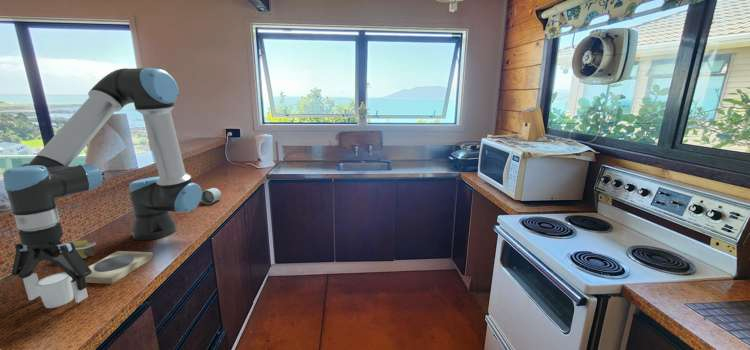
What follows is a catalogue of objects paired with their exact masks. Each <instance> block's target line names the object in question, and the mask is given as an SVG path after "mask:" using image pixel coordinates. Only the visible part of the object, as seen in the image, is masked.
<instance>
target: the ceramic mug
mask: <svg viewBox="0 0 750 350" xmlns="http://www.w3.org/2000/svg"><path fill="white" fill-rule="evenodd" d="M221 197H222V192H221V190H220V189H218V188H216V187H211V188H209V189H208V188H207V189H205V190H203V191H202V197H201V200H200V202H199V203H203V204H205V205H211V204H213V203H215V202H217V201H219V200H220V198H221Z"/></svg>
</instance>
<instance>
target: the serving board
mask: <svg viewBox="0 0 750 350" xmlns="http://www.w3.org/2000/svg"><path fill="white" fill-rule="evenodd" d="M153 258H154V254H153V252H151V251H150V252H149V251H125V250H124V251H123V250H116V251H115V252H112V253H111V254H109V255H107V256H106V257H104V258H102V259H100V260H98V261H96V262H94V263H93V264H91V265H88V267H89V268H90V270H91V271H92V273H91V274H90V275H88V276H86V277H85V279H86V284H87V283H89V284H91V283H92V284H110V285H112V284H115V283H117V281H120V280H121V279H122V278H124V277H126V276H127V275H129V274H130V273H132V272H133V271H135V270H137V269H138V268H140V267H142V266H143V265H145V264H146V263H147V262H149V261H150V260H152V259H153ZM76 275H77V274H76ZM72 280H73V279H72Z"/></svg>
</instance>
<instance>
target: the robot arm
mask: <svg viewBox="0 0 750 350" xmlns="http://www.w3.org/2000/svg"><path fill="white" fill-rule="evenodd" d="M179 91H180V90H179V86H178V84H177V82H176V80H175V79H174V77H173V76H172V75H171V74H169V73H168V72H167V71H166V70H164V69H160V68H153V67H145V68H144V67H143V68H140V67H139V68H128V67H127V68H126V67H125V68H119V69H116V70H114V71H112V72H111V71H110V72H109V73H108V74H106V75H105V76H104V77H102V78H101V79H100V80H99V81H97V83H96V84H95V85H94V86H92V88H90V90H89V91H88V93H87V95H88V98H87V99H86V101H84V102H83V104H82V105H81V106H79V108H78V109H77V110H76V111H75V112H74V113H73V115H71V116H70V118H68V120H67V121H66V122H65V124H64V125H63V126H62V127H61V128H60V129H59V130H58V131H57V132H56V133H55V134H54V135H53V136H52V138H51V139H50V140H49V141H48V142H47V143H46V144H45V145H44V146H43V147H42V149H41V150H40V151H39V152H38V153H37V154H36V155H35V156H34V157H33V159H32V160H30V162H28V163H24V164H20V165H17V166H15V167H12V168H11V167H10V168H7V169H6V170H4V171H3V172H2V174H3V175H2V176H3V177H2V178H3V184H4V190H5V191H6V194H7V198H8V201H9V204H10V207H11V211H12V214H13V216H14V221H15V224H16V228H17V229H18V230H19V231H18V235H19V240H20V242H19V243H16V244H15V245H14V247H15V256H14V260H13V263H12V268H11V275H12V276H14V277H15V276H18V277H19V279H21V280H22V284H23V287H24V288H25V292H26V295H27V299H28V301H33V300H36V299H37V298H39V297H40V294H39V292H38V290H37V288H36V286H35V284H36V282H38V281H39V280H40V279H39V277H38V274H37V273H36V271H35V270H36V268H37V267H38V265H39V263H40V262H41V261H47V262H51V263H52V264H55V265H57V266H58V267H59V268H60V269H61V270H62V271H63V272H64V273H65V272H66V273H67V274H68V275H69V276H70V277H71V278H72V279H73V280H71V285H72V289H73V294H74V301H75V303H77V304H79V303H80V302H82V301H84V300H85V299H87V298H88V297H89V295H88V291H87V286H88V284H87V283H86V279H85V277H86V276H88V275H90V274H91V273H92V271H91V270H90V268H89V265H88V264H87V263H86V262H85V260H84V258H82V257H81V256H80V255H79V253H78V252H77V251H76V249H75V246H74V243H73V241H72V242H70V243H68V242H67V244H65V243H62V241H61V238H62V237H63V235H64V232H63V227H62V224H61V223H60V220H61V219H60V215H59V211H58V207H57V204H56V199H60V198H65V197H68V196H72V195H77V194H81V193H85V192H89V191H92V190H95V189H97V188H99V187H101V186H102V184H103V181H104V177H103V174H102V172H101V171H102V170H101V169H99V167H97V166H96V165H94V164H91V163H90V164H89V163H87V164H78V165H75V166H71V165H72V164H73V163H74V162H75V160H76V159H78V156H79V155H80V154H81V153H82V152H83V151H84V150H85V148H86V147H87V146H88V145H89V143H90V142H91V141H92V139H93V138H95V136H96V135H97V134H98V132H99V131H100V130H101V129H102V128H103V126H105V124H106V122H107V121H108V120H109V119H110V118H111V117H112V115H114V113H115V112H120V111H122V109H123V108H124V107H125V106H127V105H129V104H133V105H134V109H135V111H137V112H139V113H140V114H141V115H142V119H143V123H144V125H145V129H146V132H147V135H148V139H149V143H150V147H151V151H152V154H153V155H152V156H153V157H154V161H155V164H156V165H155V166H156V168H157V172H158V175H159V176H152V177H151V176H150V177H146V178H140V179H137V180H134V181H132V182H130V184H129V185H128V187H129V196H130V201H131V206H132V210H133V215H134V216H133V217H134V221H133V223H132V224H133V225H132V231H131V233H132V234H131V235H132V239H134V240H135V241H137V240H138V241H150V240H156V239H161V238H164V237H166V236H169V235H172V234H173V233H175V231H177V229H178V228H177V223H176V222H175V220H174V218H173V216H172V215H171V213H170V212H176V213H178V214H179V213H180V214H181V213H189V212H190V213H191V212H192V211H194V210H195V209H196V208H197V207H198V206H199V204H200V203H201V202H200V200H201V197H202V192H203V191H202V188H201V186H200V184H197V183H195V182H193V179H192V175H190V174H189V173H188V172H186V169H185V165H184V160H183V157H182V153H181V148H180V144H179V140H178V136H177V133H176V132H177V131H176V128H175V125H174V119H173V116H172V111H173V109H174V108H175V102H176V101H177V99H178V96H179V93H180V92H179ZM76 274H77V275H76Z"/></svg>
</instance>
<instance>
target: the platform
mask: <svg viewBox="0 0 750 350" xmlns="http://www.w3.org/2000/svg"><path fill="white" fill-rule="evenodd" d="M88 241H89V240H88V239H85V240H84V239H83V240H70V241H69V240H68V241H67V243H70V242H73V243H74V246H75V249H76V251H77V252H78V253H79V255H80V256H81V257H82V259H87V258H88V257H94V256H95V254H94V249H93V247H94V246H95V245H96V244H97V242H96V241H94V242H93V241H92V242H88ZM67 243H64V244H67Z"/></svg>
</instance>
